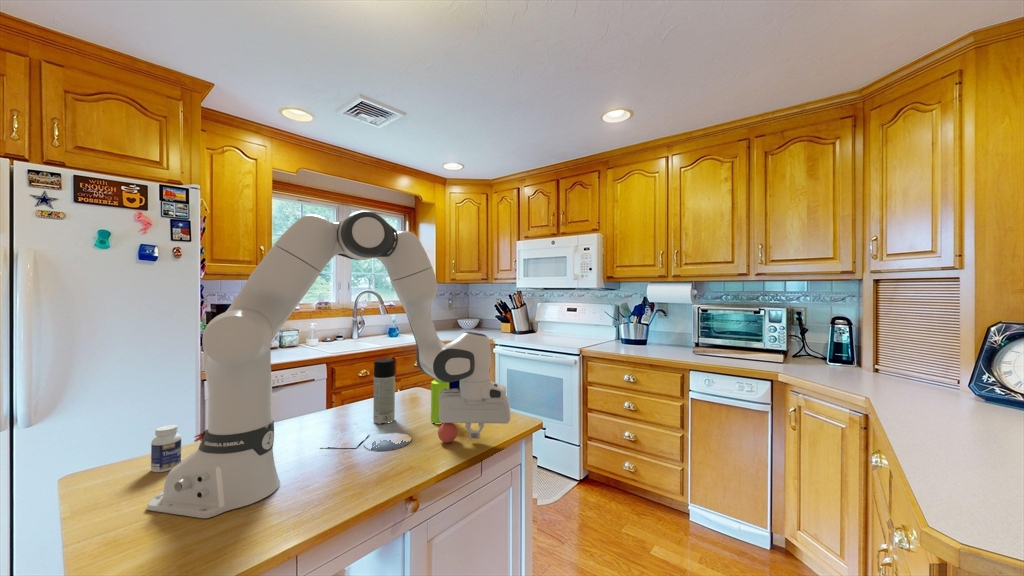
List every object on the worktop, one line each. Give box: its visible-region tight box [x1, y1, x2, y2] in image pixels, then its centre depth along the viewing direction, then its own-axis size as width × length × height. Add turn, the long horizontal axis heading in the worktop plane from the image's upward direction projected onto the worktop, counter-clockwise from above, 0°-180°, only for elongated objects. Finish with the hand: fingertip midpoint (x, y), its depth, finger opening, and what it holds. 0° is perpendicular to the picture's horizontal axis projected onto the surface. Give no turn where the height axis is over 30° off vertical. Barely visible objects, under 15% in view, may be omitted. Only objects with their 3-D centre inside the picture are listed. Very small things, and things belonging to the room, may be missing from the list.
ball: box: [437, 423, 458, 444], centre depth 109 cm, size 6×6×6 cm
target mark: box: [370, 438, 413, 452], centre depth 109 cm, size 13×13×1 cm
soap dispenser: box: [430, 378, 450, 423], centre depth 126 cm, size 6×7×20 cm
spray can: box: [372, 358, 396, 424], centre depth 126 cm, size 7×7×20 cm
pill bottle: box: [150, 424, 182, 473], centre depth 92 cm, size 5×5×10 cm
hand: (474, 437), depth 108 cm, fingers closed
